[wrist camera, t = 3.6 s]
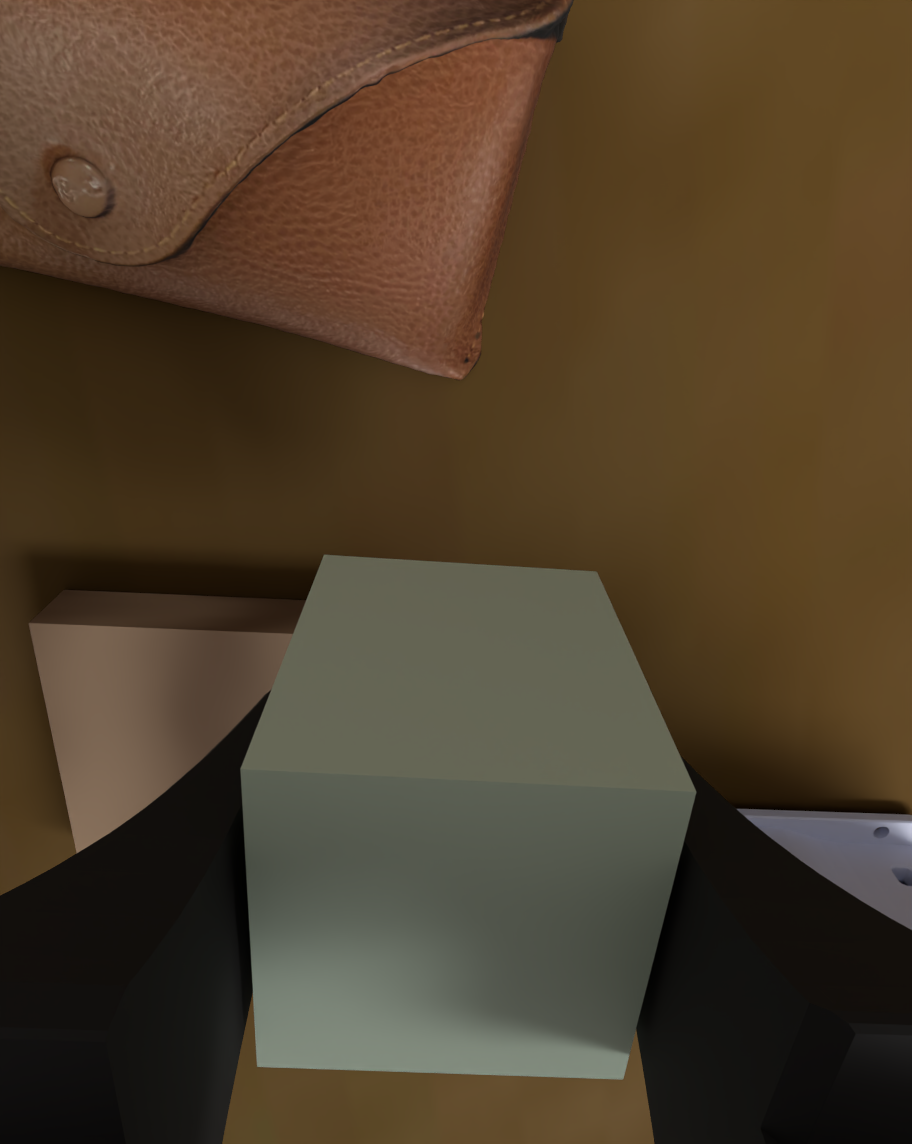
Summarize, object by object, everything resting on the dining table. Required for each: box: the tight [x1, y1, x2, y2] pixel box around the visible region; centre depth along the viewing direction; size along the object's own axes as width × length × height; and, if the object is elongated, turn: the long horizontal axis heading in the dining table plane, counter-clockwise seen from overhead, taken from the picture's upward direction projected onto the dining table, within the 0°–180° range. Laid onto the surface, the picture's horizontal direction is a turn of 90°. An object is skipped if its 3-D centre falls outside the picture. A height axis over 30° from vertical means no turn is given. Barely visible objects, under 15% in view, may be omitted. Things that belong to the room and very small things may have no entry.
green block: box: [240, 555, 696, 1079], centre depth 12 cm, size 5×5×6 cm
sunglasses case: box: [0, 0, 573, 380], centre depth 16 cm, size 18×7×7 cm
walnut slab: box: [29, 590, 306, 853], centre depth 23 cm, size 10×10×2 cm
